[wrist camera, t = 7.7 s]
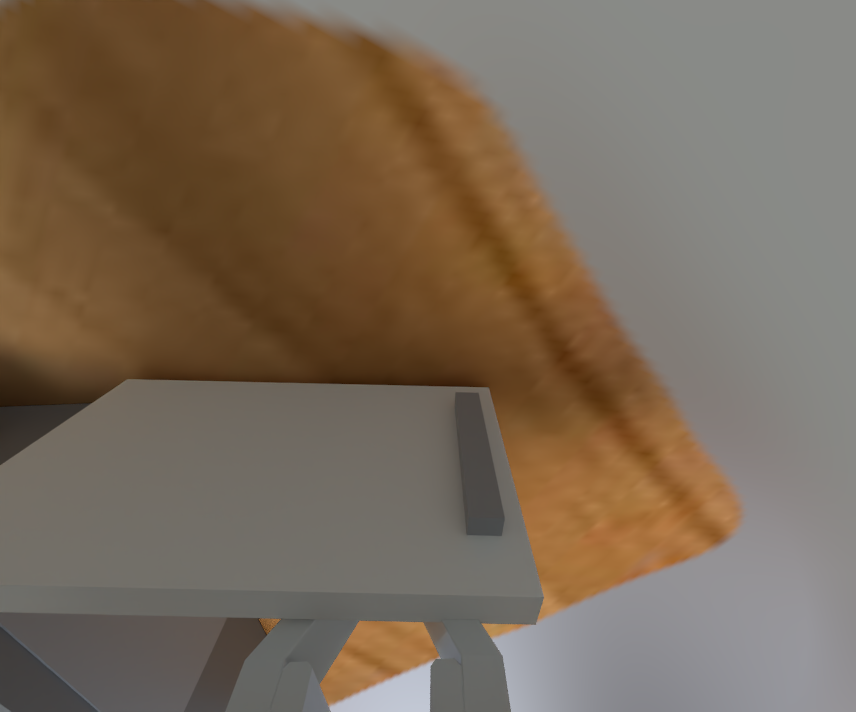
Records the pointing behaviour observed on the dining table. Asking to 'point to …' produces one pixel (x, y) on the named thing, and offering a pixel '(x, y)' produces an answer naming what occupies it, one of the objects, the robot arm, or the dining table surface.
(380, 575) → the side door
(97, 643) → the box
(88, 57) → the dining table surface
